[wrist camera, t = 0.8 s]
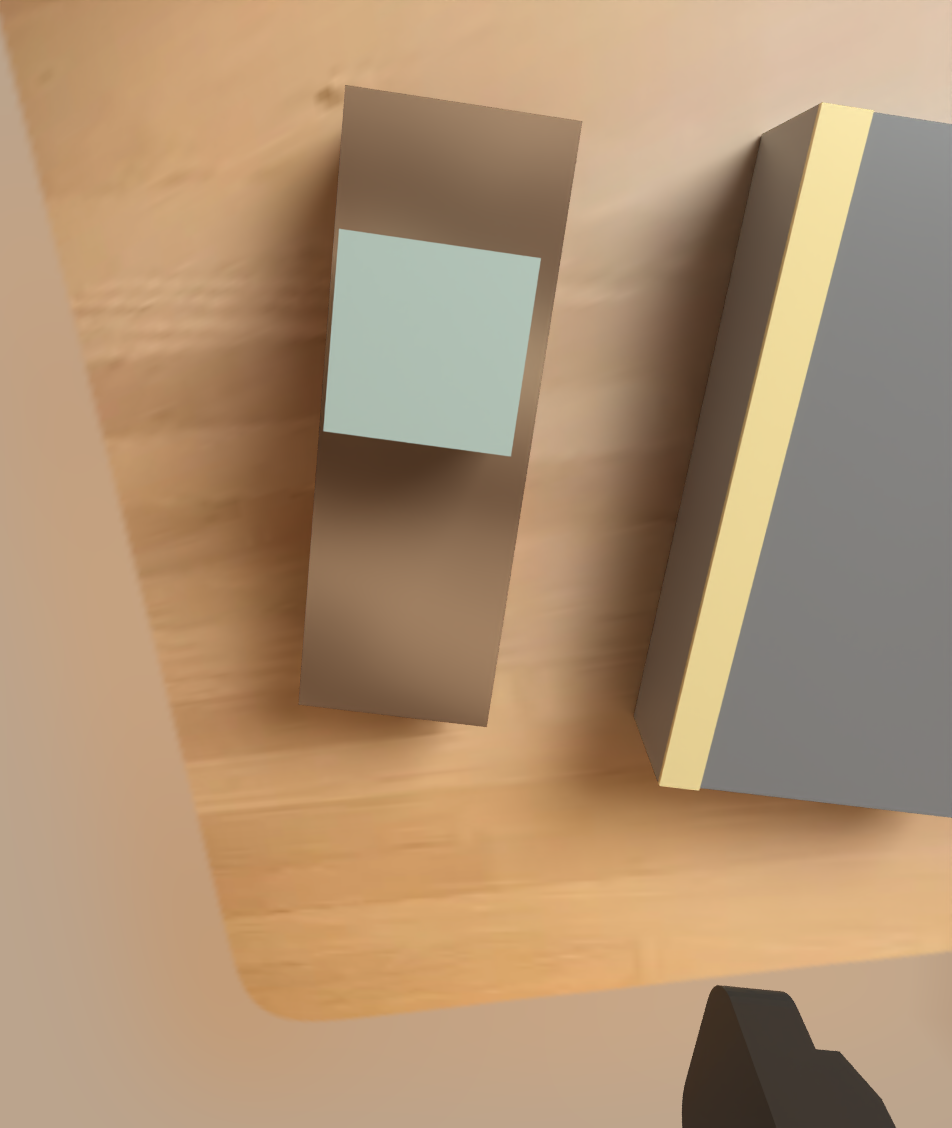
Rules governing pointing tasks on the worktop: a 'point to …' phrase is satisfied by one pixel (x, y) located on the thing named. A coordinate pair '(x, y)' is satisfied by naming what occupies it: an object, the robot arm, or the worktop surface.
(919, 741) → the dock
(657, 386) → the worktop surface
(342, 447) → the board
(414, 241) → the pale green cube
